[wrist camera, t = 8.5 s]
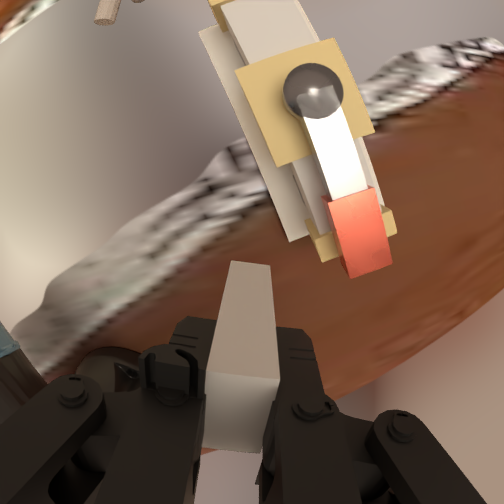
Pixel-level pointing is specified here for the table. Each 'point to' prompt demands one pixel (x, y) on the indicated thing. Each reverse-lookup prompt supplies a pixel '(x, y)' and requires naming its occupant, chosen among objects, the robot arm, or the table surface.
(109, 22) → the pipe connector
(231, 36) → the valve base
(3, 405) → the robot arm
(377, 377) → the table surface
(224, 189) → the table surface
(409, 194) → the table surface
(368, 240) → the valve lever
